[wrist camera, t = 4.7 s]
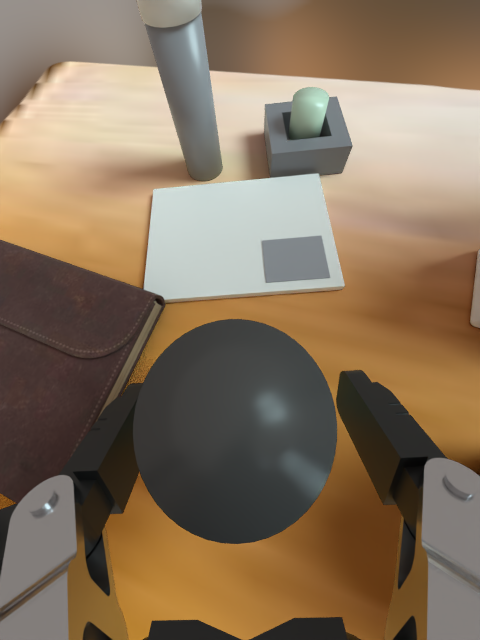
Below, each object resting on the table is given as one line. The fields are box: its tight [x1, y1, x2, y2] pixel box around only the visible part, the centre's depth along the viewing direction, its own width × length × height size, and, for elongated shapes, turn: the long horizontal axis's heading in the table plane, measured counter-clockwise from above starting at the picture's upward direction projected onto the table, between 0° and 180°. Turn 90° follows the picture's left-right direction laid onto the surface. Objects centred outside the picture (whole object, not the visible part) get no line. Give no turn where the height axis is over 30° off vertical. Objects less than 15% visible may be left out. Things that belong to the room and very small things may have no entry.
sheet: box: [144, 173, 345, 303], centre depth 20 cm, size 16×12×1 cm
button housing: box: [264, 97, 352, 178], centre depth 22 cm, size 7×7×2 cm
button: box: [288, 87, 329, 140], centre depth 20 cm, size 3×3×3 cm
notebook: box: [0, 240, 165, 503], centre depth 17 cm, size 15×20×2 cm
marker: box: [133, 319, 337, 544], centre depth 10 cm, size 4×4×12 cm
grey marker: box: [136, 0, 223, 181], centre depth 18 cm, size 4×4×12 cm
